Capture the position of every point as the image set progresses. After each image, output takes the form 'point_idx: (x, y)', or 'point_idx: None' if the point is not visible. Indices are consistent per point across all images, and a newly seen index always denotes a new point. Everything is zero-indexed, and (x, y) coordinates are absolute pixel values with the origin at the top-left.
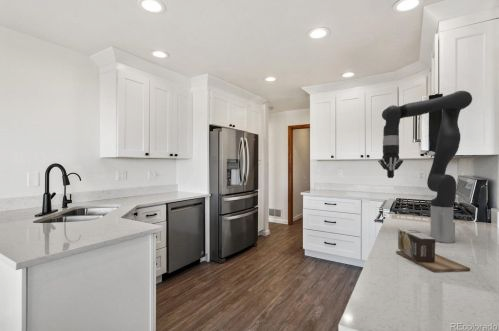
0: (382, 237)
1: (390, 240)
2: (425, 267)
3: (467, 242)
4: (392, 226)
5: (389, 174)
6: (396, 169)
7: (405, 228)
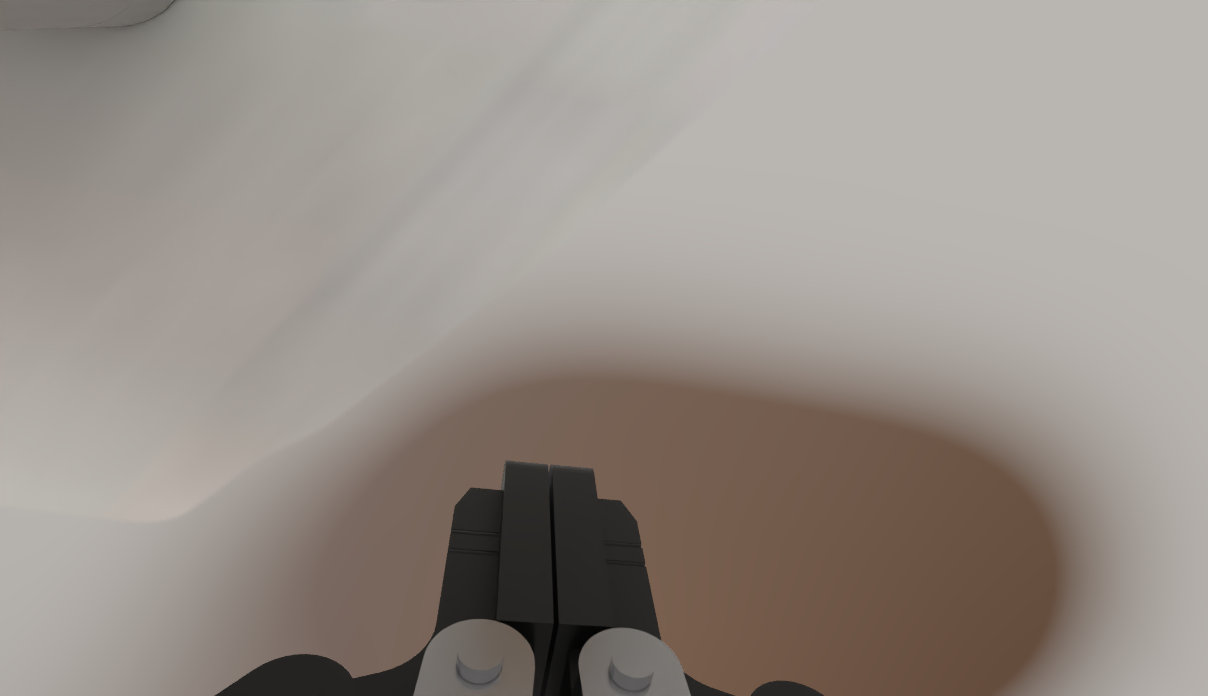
0: (612, 172)
1: (619, 67)
2: None
3: None
4: (223, 477)
5: (622, 548)
6: (321, 662)
7: None
